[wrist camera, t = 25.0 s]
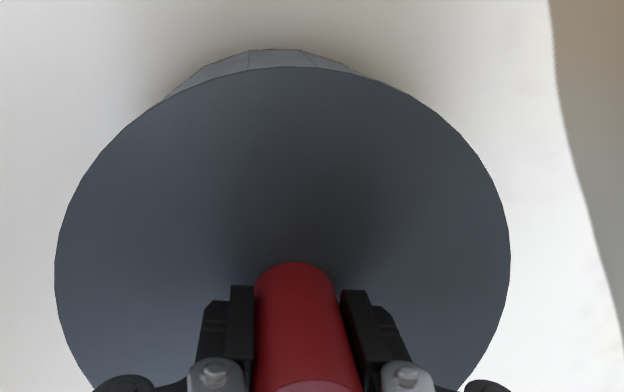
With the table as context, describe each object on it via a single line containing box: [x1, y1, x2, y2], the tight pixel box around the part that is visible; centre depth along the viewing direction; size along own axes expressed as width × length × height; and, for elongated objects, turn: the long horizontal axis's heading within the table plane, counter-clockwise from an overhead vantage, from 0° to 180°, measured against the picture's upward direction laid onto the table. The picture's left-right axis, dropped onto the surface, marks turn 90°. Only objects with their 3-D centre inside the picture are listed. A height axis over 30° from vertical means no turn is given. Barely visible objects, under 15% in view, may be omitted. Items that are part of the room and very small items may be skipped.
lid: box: [54, 65, 511, 392], centre depth 14 cm, size 15×15×7 cm
